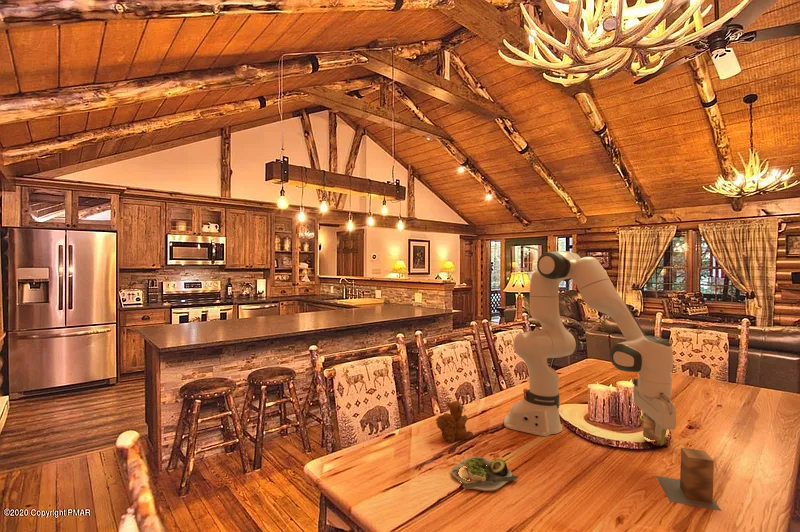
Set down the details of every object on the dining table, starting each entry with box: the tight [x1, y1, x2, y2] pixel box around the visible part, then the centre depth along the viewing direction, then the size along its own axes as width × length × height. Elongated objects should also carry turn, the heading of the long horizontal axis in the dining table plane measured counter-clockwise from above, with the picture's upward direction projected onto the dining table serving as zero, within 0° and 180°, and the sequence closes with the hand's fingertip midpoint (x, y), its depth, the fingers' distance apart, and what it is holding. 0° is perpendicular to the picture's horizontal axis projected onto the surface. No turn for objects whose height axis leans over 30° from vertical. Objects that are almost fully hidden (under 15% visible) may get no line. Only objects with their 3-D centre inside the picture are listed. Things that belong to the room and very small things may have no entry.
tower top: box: [680, 447, 715, 483], centre depth 115 cm, size 6×6×6 cm
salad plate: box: [451, 456, 519, 492], centre depth 123 cm, size 19×18×5 cm
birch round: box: [642, 415, 661, 441], centre depth 128 cm, size 5×5×6 cm
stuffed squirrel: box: [435, 400, 474, 443], centre depth 151 cm, size 10×14×13 cm
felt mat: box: [655, 475, 722, 512], centre depth 116 cm, size 12×14×1 cm
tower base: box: [679, 467, 714, 503], centre depth 115 cm, size 6×6×6 cm
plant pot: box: [639, 414, 668, 447], centre depth 148 cm, size 9×9×9 cm
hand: (652, 430), depth 128 cm, fingers closed on birch round, 5 cm apart
